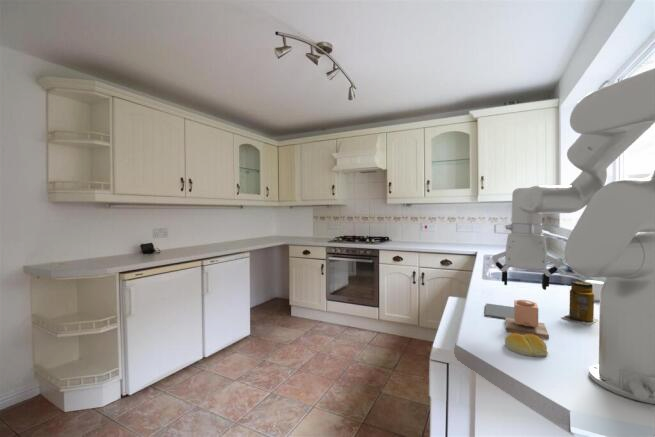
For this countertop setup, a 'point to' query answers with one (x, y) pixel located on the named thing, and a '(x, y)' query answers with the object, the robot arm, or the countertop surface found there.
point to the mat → (499, 311)
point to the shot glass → (596, 288)
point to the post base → (526, 329)
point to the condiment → (581, 303)
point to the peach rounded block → (526, 313)
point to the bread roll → (526, 344)
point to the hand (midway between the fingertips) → (524, 286)
